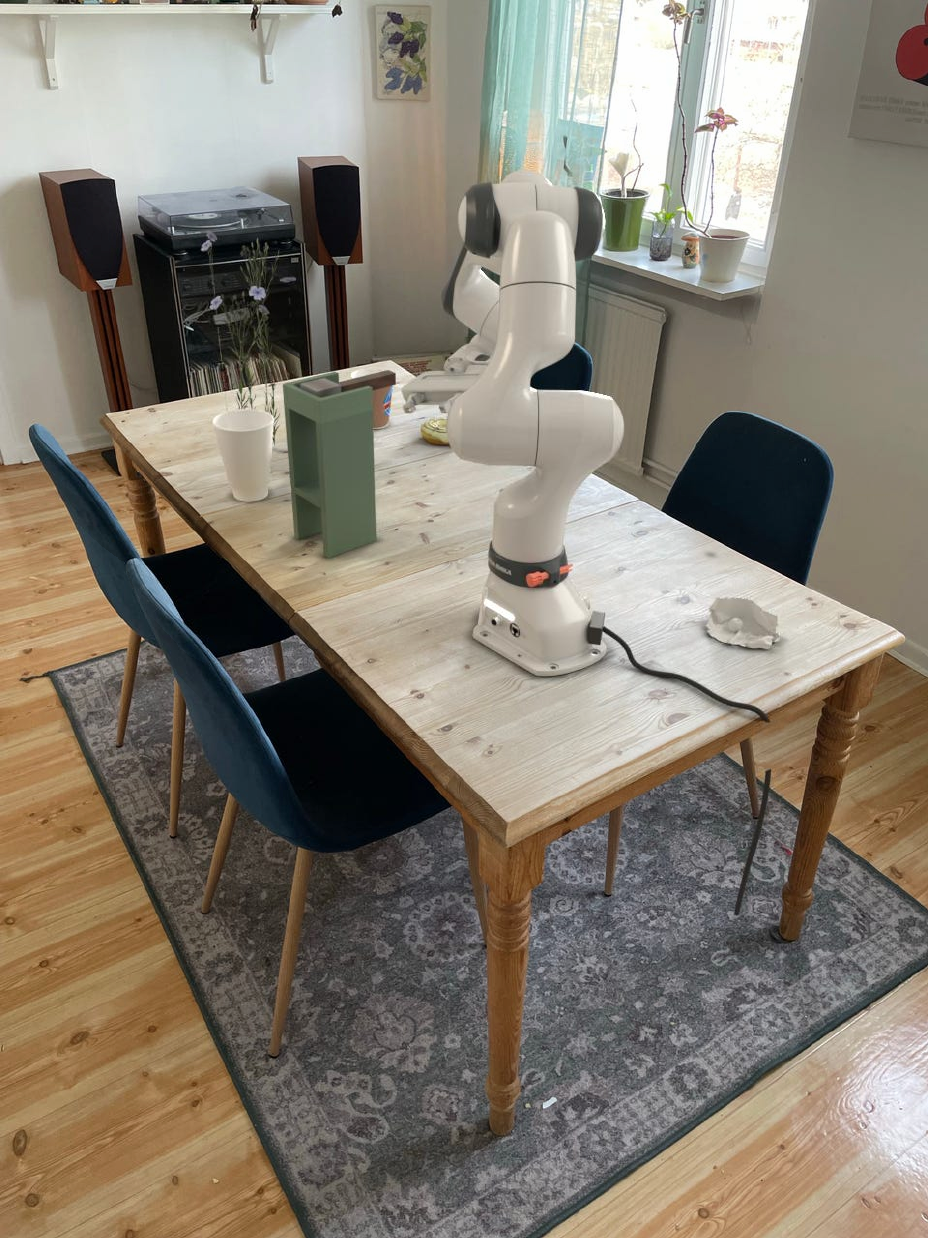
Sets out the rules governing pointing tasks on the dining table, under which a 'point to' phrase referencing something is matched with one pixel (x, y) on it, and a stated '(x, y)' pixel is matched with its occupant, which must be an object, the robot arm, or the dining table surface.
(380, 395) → the coffee cup
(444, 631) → the dining table surface
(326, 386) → the mallet
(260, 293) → the wildflower
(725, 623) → the jagged white shell
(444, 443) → the decorated donut
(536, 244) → the robot arm
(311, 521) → the stand
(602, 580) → the dining table surface
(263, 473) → the cup
